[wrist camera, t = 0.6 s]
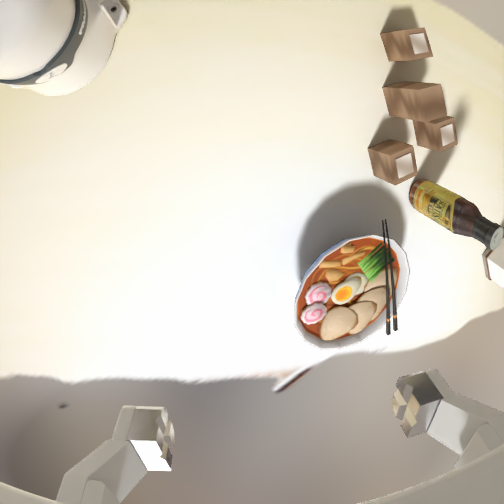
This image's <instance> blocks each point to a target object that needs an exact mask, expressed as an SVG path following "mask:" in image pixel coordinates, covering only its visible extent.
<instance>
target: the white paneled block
mask: <svg viewBox="0 0 504 504" xmlns="http://www.w3.org/2000/svg"><path fill="white" fill-rule="evenodd" d="M368 152H369V156H370V160H371V165H372V169H373V174H374V176H376V177H378V178H380V179H382V180H385V181H387V182H389V183H391V184H393V185H397V184H399V183H401V182H403V181H406V180H408V179H410V178H412V177H414V176H416V175H418V173H417V166H416V160H415V154H414V148H413V146H412V145H409V144H405V143H402V142H398V141H395V140H391V139H390V140H387V141H385V142H382V143H380V144H377V145H375V146H372V147H370V148H368Z"/></svg>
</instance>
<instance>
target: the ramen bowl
mask: <svg viewBox="0 0 504 504" xmlns="http://www.w3.org/2000/svg"><path fill="white" fill-rule="evenodd" d="M385 224H386V232H387V237H385V232H384V223H383V220H382V226H383V236H379V235H375V234H372V235H364V236H359V237H354V238H350V239H345V240H342V241H340V242H339V243H337V244H336V245H334V246H332V247H331V248H329V249H328V250H326V251H325V252H323V253H322V254H321V255H320V256H319V257H318V258H317V259H316V260H315V262H314V263H313V264H312V265H311V266H310V267H309V269H308V270H307V271H306V272H305V275H304V277H303V280H302V282H301V285H300V288H299V290H298V293H297V295H296V298H295V327H296V329H297V330H298V332H299V333H300V335H301V336H302V338H303V339H304V341H305V342H307V343H309V344H311V345H313V346H315V347H317V348H319V349H342V348H345V347H348V346H351V345H354V344H357V343H359V342H362V341H363V340H365V339H366V338H368V337H369V336H371V335H372V334H373V333H375V332H376V331H378V330H379V329H380V328H381V327H382V326H383V325H384V324H385V323H386V334H387V335H389V334H390V317H391V316H392V315H393V329H394V331H396V330H398V328H397V311H396V310H397V308H398V306H399V304H400V302H401V301H402V299H403V297H404V295H405V293H406V289H407V284H408V279H409V274H410V269H409V264H408V260H407V255H406V252H405V251H404V250H403V249H402V248H401V247H400V246H399V244H398V243H397V242H396V241H395V240H394V239H391V238H389V236H388V229H387V223H386V219H385Z"/></svg>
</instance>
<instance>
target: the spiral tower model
mask: <svg viewBox="0 0 504 504" xmlns="http://www.w3.org/2000/svg"><path fill="white" fill-rule="evenodd" d="M503 230H504V228H503ZM482 257H483V263H484V268H485V274H486V277H487V278H488V279H489V280H493V281H495V282H496V283H497V284H499V285H500V286H501V287H503V288H504V234H503V238H502V241H501V243H500V245H499V246H498V247H497V248H496V249H495V250H490V249H489V248H487V249H486V251H485V252H484V253H483V254H482Z"/></svg>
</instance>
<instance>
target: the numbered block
mask: <svg viewBox="0 0 504 504" xmlns="http://www.w3.org/2000/svg"><path fill="white" fill-rule="evenodd" d="M380 35H381V38H382V41H383V44H384V47H385V50H386V53H387V57H388V60H389V61H411V60H417V59H422V58H428V57H433V54H432V51H431V47H430V44H429V40H428V37H427V34H426V31H425V28H415V29H407V30H400V31H393V32H388V33H382V34H380Z"/></svg>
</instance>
